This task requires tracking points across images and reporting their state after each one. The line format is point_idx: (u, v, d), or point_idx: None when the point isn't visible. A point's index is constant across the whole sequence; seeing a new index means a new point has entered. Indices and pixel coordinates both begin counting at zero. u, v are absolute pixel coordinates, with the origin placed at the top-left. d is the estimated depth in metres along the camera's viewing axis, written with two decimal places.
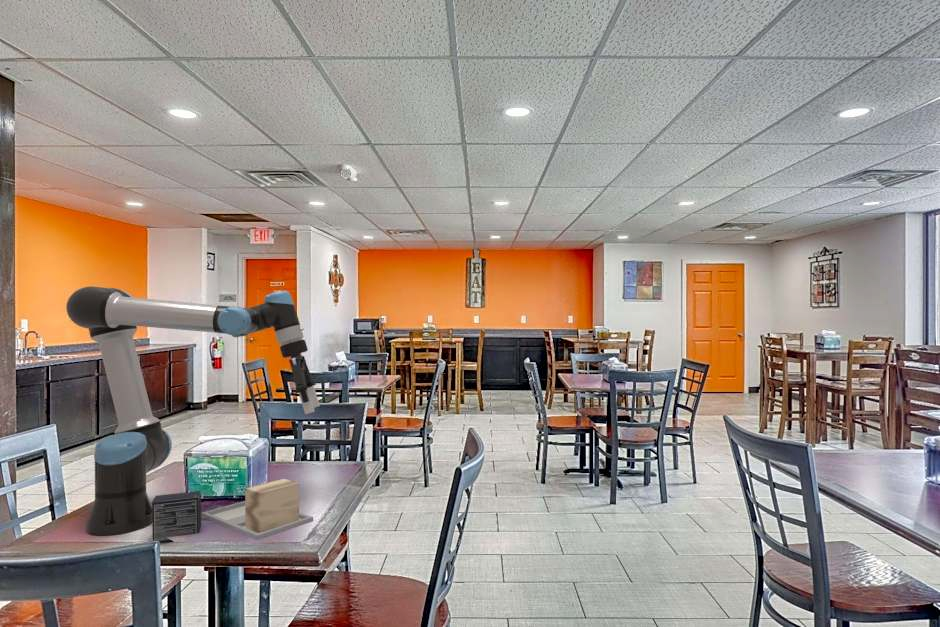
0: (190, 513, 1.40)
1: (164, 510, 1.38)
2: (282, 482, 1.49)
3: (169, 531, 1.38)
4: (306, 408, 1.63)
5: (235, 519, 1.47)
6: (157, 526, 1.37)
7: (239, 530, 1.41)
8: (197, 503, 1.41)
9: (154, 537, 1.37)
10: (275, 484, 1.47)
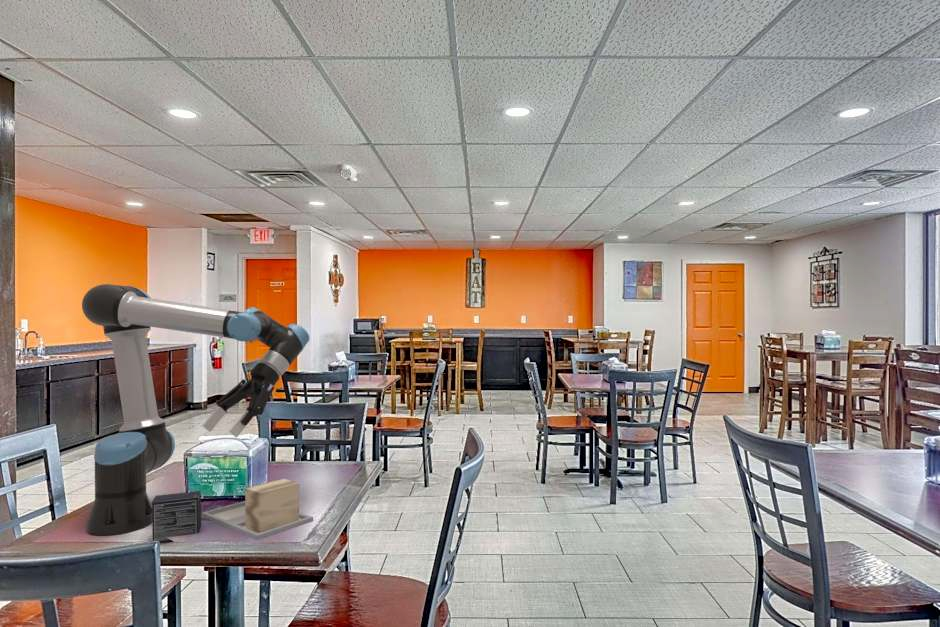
0: (190, 513, 1.40)
1: (164, 510, 1.38)
2: (282, 482, 1.49)
3: (169, 531, 1.38)
4: (236, 428, 1.47)
5: (235, 519, 1.47)
6: (156, 526, 1.37)
7: (239, 530, 1.41)
8: (197, 503, 1.41)
9: (154, 537, 1.37)
10: (275, 484, 1.47)
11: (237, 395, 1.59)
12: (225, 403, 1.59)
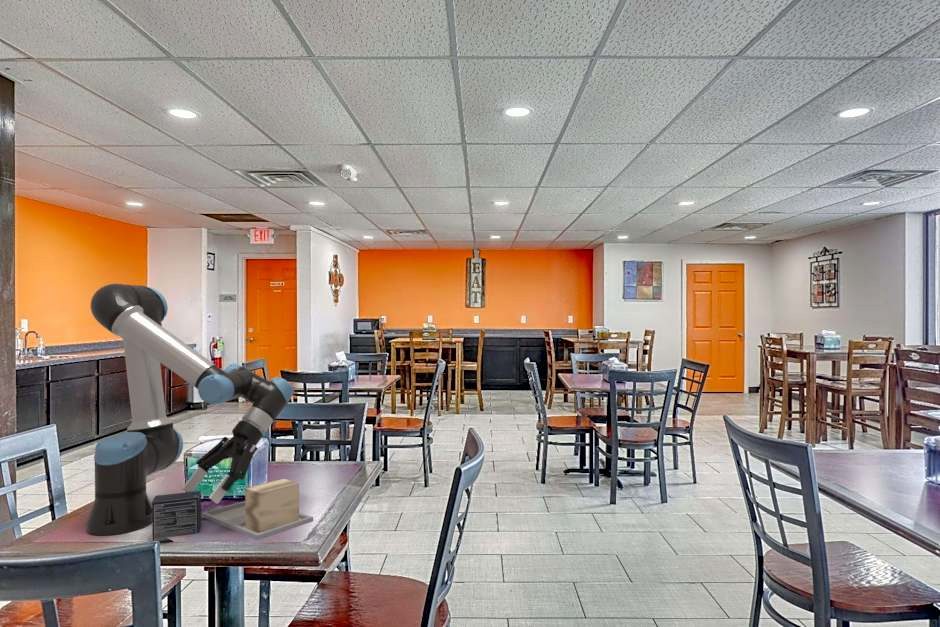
0: (190, 513, 1.40)
1: (164, 510, 1.38)
2: (282, 482, 1.49)
3: (169, 531, 1.38)
4: (216, 494, 1.41)
5: (235, 519, 1.47)
6: (157, 526, 1.37)
7: (239, 530, 1.41)
8: (197, 503, 1.41)
9: (154, 537, 1.37)
10: (275, 484, 1.47)
11: (218, 455, 1.53)
12: (206, 463, 1.53)
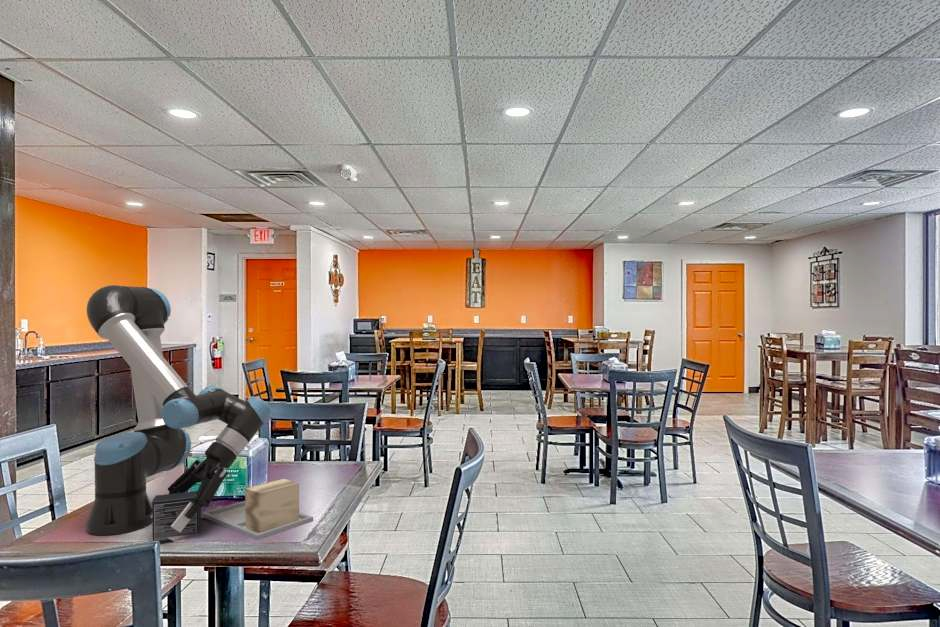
0: None
1: (164, 509, 1.38)
2: (282, 482, 1.49)
3: (170, 531, 1.38)
4: (179, 522, 1.36)
5: (235, 519, 1.47)
6: (157, 526, 1.37)
7: (239, 530, 1.41)
8: None
9: (154, 537, 1.37)
10: (275, 484, 1.47)
11: (190, 479, 1.47)
12: (177, 489, 1.47)
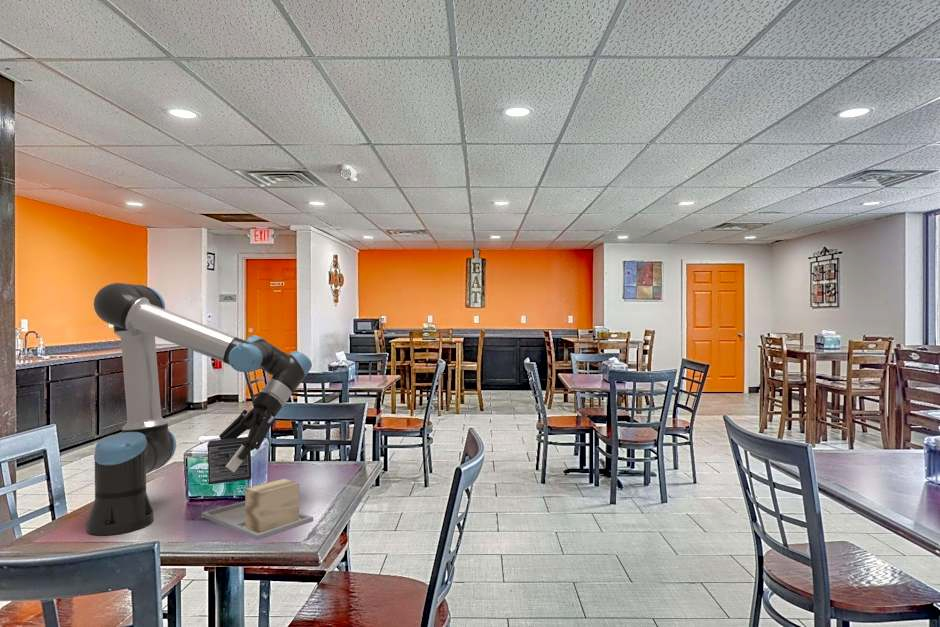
0: None
1: (218, 452, 1.48)
2: (282, 482, 1.49)
3: (224, 472, 1.49)
4: (233, 463, 1.47)
5: (235, 519, 1.47)
6: (212, 467, 1.48)
7: (239, 530, 1.41)
8: None
9: (210, 477, 1.48)
10: (275, 484, 1.47)
11: (240, 426, 1.58)
12: (228, 436, 1.57)
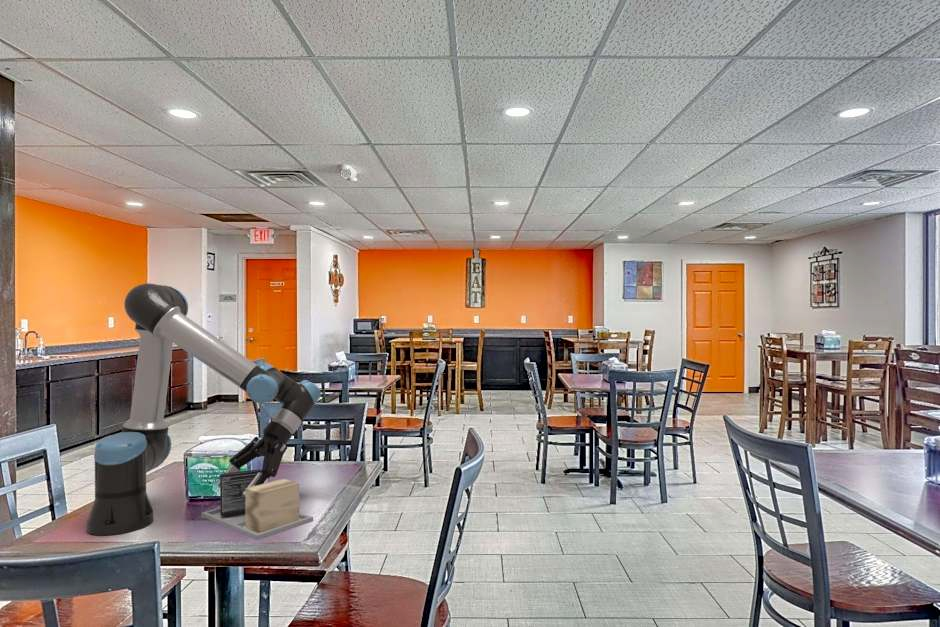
0: None
1: (230, 482, 1.53)
2: (282, 482, 1.49)
3: (236, 502, 1.52)
4: None
5: (235, 519, 1.47)
6: (224, 498, 1.51)
7: (239, 530, 1.41)
8: None
9: (222, 508, 1.51)
10: (275, 484, 1.47)
11: (250, 454, 1.61)
12: (238, 461, 1.61)
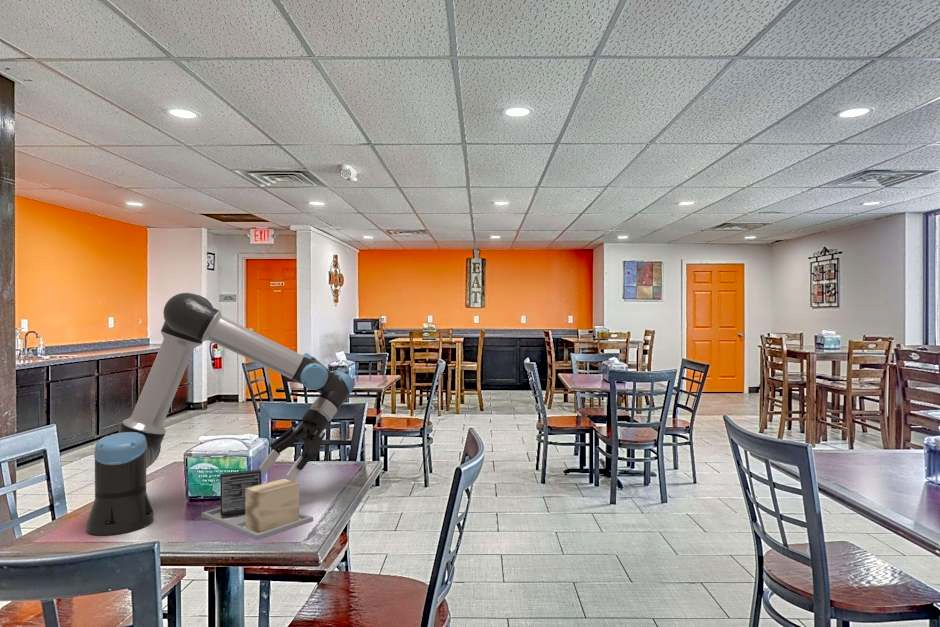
0: (253, 485, 1.55)
1: (231, 482, 1.53)
2: (282, 482, 1.49)
3: (236, 502, 1.52)
4: (292, 472, 1.60)
5: (235, 519, 1.47)
6: (224, 497, 1.51)
7: (239, 530, 1.41)
8: (260, 476, 1.56)
9: (222, 507, 1.51)
10: (275, 484, 1.47)
11: (290, 439, 1.72)
12: (279, 446, 1.72)
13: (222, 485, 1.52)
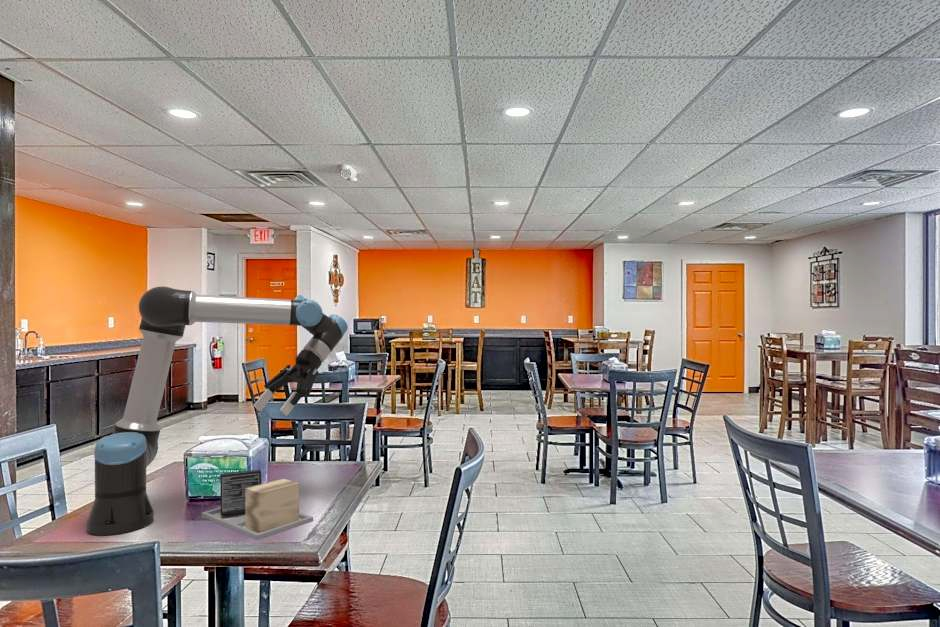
0: (253, 485, 1.55)
1: (231, 482, 1.53)
2: (282, 482, 1.49)
3: (236, 502, 1.52)
4: (286, 407, 1.62)
5: (235, 519, 1.47)
6: (224, 497, 1.51)
7: (239, 530, 1.41)
8: (260, 476, 1.56)
9: (222, 507, 1.51)
10: (275, 484, 1.47)
11: (284, 379, 1.74)
12: (273, 386, 1.74)
13: (222, 485, 1.52)
